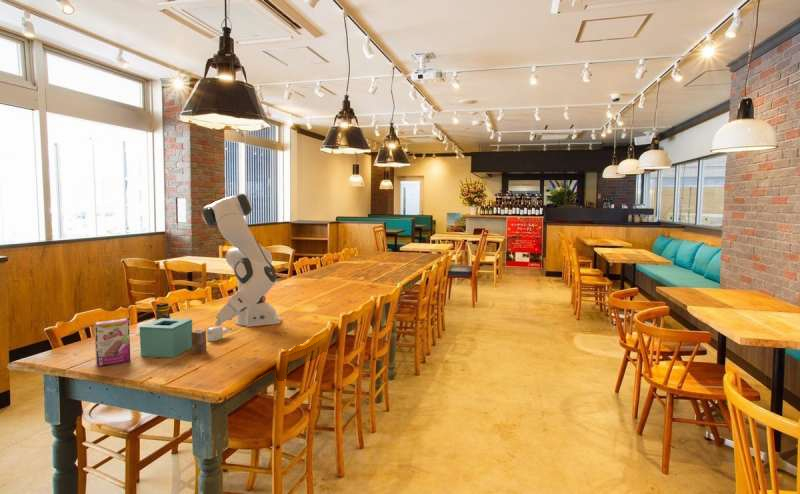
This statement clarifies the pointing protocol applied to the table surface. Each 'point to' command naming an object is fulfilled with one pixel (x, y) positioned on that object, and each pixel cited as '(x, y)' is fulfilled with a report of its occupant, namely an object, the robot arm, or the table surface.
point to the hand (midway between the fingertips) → (222, 322)
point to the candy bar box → (112, 342)
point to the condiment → (162, 311)
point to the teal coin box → (166, 337)
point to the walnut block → (198, 341)
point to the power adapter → (216, 333)
